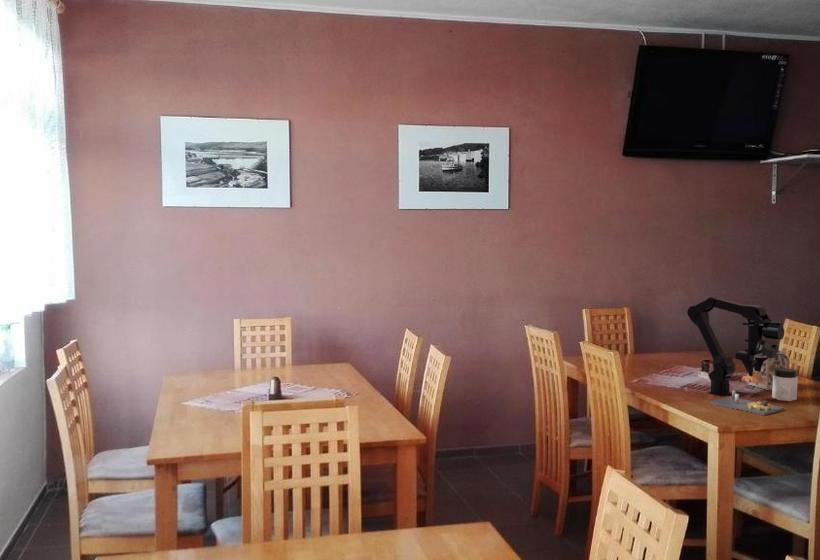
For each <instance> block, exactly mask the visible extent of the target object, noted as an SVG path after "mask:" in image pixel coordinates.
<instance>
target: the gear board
mask: <svg viewBox="0 0 820 560" xmlns="http://www.w3.org/2000/svg"><path fill="white" fill-rule="evenodd" d="M710 405H713V406H714V405H715V406H718V405H719V407H723V406H724V407H723V408H727V407H729V409H732V408H734V409H733V410H736V409H739V410H738V411H741V410H743V411H742V412H746V411H748V412H747V413H750V412H752V413H751V414H755V413H756V415H759V414H760V415H759V416H768V415H771V414H775V413H778V412H782V411H785V407H782V406H778V405H773V404H770V403H768V400H765V399H764V400H763V401H753V400H749V399H744V398H740V394H739V393H737V390H736V389H732V391H731V396H728V397H724V398H723V397H722V398H718V399H715V400H714V399H713V400H711V401H710Z"/></svg>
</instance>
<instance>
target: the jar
mask: <svg viewBox="0 0 820 560" xmlns="http://www.w3.org/2000/svg"><path fill="white" fill-rule="evenodd" d="M797 371H798V370H797V369H794V368H790V367H789V368H775V369H774V375H773V387H772V390H771V391H772V392H771V393H772V394H771V397H772V398H773V399H775V400H777V401H786V402H793V400H794V401H797V398H798V397H797V396H798V380H799V379H798V378H799V377H798V376H797V374H798V373H797Z"/></svg>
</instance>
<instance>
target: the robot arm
mask: <svg viewBox="0 0 820 560" xmlns="http://www.w3.org/2000/svg"><path fill="white" fill-rule="evenodd" d="M715 308H716V309H720V310H723V311H728V312H729V313H730V312H731V313H734V314H738V315H740V316H741V317H743V318H745V321H743V322H742V324H741V325H743V326H747V334H746V335H747V337H746V338H745V339H744V342H746V344H747V345H746V348H745V349H744V350H740V351H737V352H736V353H734V354H735V355H734V358H735V360H740V361H741V362H742V364H743V366H744V368H745V371H746V372H747V375H748V374H749V376H752V375H753V369H754V370H755V371H759V372H760V370H761V367H762V365H763V362H764V361H766V360H767V359H769V358H772V357H775V356H776V354H777V353H779V351H780V350H779V345H778V344H776V343H774V344H771V345H770V344H767V341H766V339H772V340H780V341H782V340H783V339H784V337H785V328H784V326H783V322H782V321H776V322H774V321H772V319H771V318H770V316H769V314H767V311H766V308H765V306H762V305H759V304H757V305H756V304H742V303H739V302H736V301H735V302H734V301H731V300H727V299H723V298H719V297H717V296H710V297H708V298H706V299H705V300H703V301H702V302H699V303H697V304H695V305H692V306H691V305H690V306H689V308H688V309H687V311H686V314H687V316H688V318H689V319H690V321H691V322H692V323H693V324H694V325H695V326H696V327H697V328H698V331H699V332H700V334H701V336H702V338H703V341H704V343H705V346H707V349H708V351H709V353H710V355H711V357H712V358H711V359H712V368H713V370H712V371H711V372H710V373H709V374H708V378H709V380H710V391H708V394H712V395H716V396H721V397H722V396H728V395H732V392H730V389H731V388H730V387H731V386H730V385H731V384H730V380H731V378H732V376H733V375H735V372H736V364H735V362H734V360H733V357H732V356H727V355H726V354H725V353H724V351H723V349H722V347H721V344H720V343H719V340H718V338H717V336H716V334H715V332H714V330H713V328H712V326H711V324H710V314H709V313H710V312H711V311H713V310H714V309H715ZM764 338H765V339H764ZM767 357H768V358H767Z"/></svg>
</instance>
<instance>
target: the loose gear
mask: <svg viewBox="0 0 820 560" xmlns="http://www.w3.org/2000/svg"><path fill="white" fill-rule="evenodd" d="M741 381H743V382H746V383H748V382H752V383H765V382H766V378H762V377H761V372H759V371H753V375H752V376H749V374H748V373H747V375H743V376H742V377H741Z"/></svg>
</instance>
